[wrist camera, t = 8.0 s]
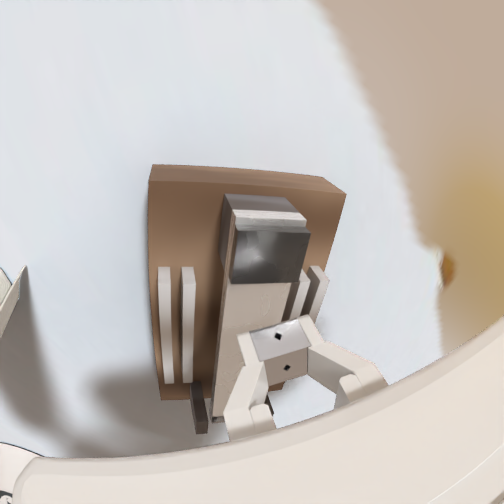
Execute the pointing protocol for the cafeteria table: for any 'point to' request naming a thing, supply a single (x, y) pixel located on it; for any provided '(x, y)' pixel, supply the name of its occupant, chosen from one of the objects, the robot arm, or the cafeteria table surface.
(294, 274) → the beige-grey bar
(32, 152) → the cafeteria table surface
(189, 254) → the wooden base lever press
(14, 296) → the paper towel roll
